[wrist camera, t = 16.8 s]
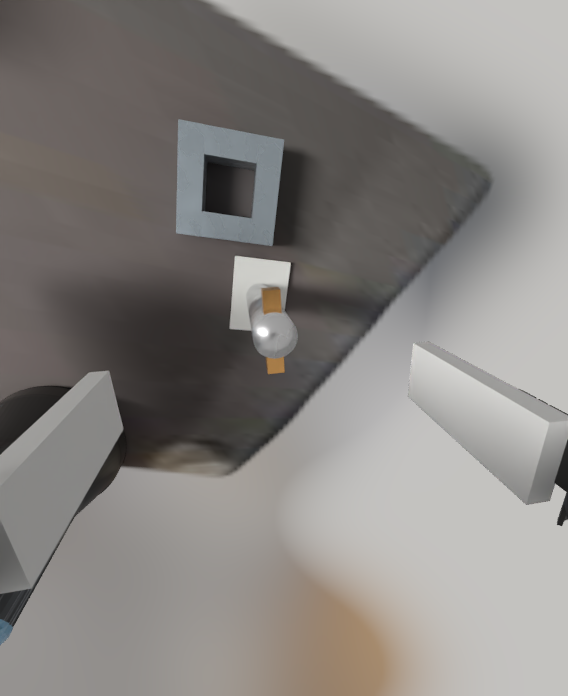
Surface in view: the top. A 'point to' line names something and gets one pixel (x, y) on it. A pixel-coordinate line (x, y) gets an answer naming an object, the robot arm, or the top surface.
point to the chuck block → (233, 151)
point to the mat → (249, 275)
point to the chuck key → (270, 326)
